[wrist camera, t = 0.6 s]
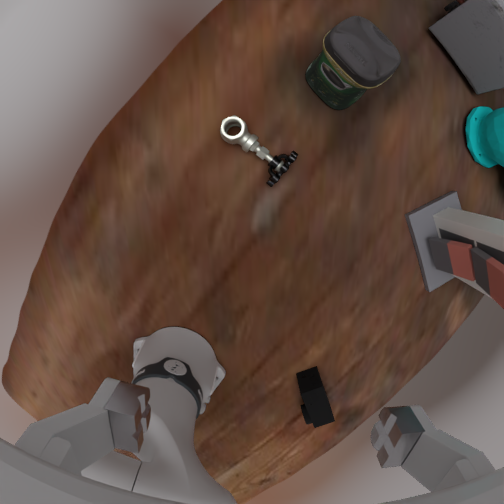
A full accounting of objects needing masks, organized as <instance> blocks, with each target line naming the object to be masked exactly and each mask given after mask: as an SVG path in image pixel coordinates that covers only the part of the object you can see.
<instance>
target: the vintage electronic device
mask: <svg viewBox="0 0 504 504" xmlns="http://www.w3.org/2000/svg"><path fill="white" fill-rule="evenodd" d="M460 3H461V4H460ZM458 4H460V5H458ZM456 5H458V6H456ZM444 9H445V10H446V11H449V10H450V9H451V10H450V11H449V12H448V14H447V15H446V16H444V17H443V18H442V19H440V20H439V21H437V22H436V23H435V24H433V25H432V26H430V27H429V29H430V31H431V32H432V33H433V34H434V35H435V37H436V38H437V39H438V40H439V42H440V43H441V44H442V45H443V47H444V48H445V49H446V51H447V52H448V53H449V55H450V56H451V57H452V59H453V60H454V61H455V63H456V64H457V66H458V67H459V68H460V70H461V71H462V73H463V74H464V76H465V77H466V79H467V80H468V81H469V83H470V85H471V86H472V88H473V89H474V91H475V92H476V94H481V93H485V92H489V91H493V90H497V89H501V88H504V0H467V1H466V2H464V0H456V1H454V2H452V3H450V4H449V5H447V6H446V7H445V8H444Z"/></svg>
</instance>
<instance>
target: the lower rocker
mask: <svg viewBox="0 0 504 504" xmlns="http://www.w3.org/2000/svg"><path fill="white" fill-rule="evenodd" d="M429 243H430V247H431V251H432V255H433V259H434V263H435V267H436V269H438V270H441V271H444V272H447V273H450V274H453V275H456V276H459V277H461V278H464V279H467V280H470V281H475V280H476V279H475V273H474V267H473V261H472V255H471V250H470V249H472V245H471V244H466V243H461V242H457V241H452V240H447V239H442V238H437V237H432V238H430V239H429Z"/></svg>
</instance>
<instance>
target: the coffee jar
mask: <svg viewBox="0 0 504 504" xmlns="http://www.w3.org/2000/svg"><path fill="white" fill-rule="evenodd" d="M400 61H401V60H400V55H399V52H398V50H397V49H396V47H395V46H394V45H393V44H392V43H391V41H390V40H389V39H388V38H387V37H386V36H385V35H384V34H383V33H382V32H381V31H380V30H379V29H378V28H377V27H376V26H375V25H374V24H373V23H372V22H370V21H369V20H367V19H365V18H363V17H360V16H353V17H350V18H348V19H346V20H344V21H342V22H341V23H339V24H338V25H337V26H335V27H334V28H333V29H332V30H330V31H329V32H328V33H327V34H326V35H325V37H324V40H323V51H322V52H321V54H320V55H319V56H318V57H317V58H316V59H315V60H314V61H313V62H312V63H311V65H310V66H309V67H308V69H307V71H306V80H307V82H308V84H309V85H310V87H311V88H312V89H313V90H314V92H315V93H316V94H317V95H318V96H319V97H320V98H321V99H322V100H323V101H324V102H325V103H326V104H327V105H329V106H330V107H332V108H334V109H337V110H342V109H345V108H347V107H349V106H351V105H352V104H353V103H355V102H356V101H357V100H358V99H359V98H360V97H361V96H362V95H363V94H364V92H365V91H366V90H367V89H371V88H375V87H377V86H379V85H381V84H382V83H384V82H385V81H386V80H387V79H389V78H390V77H391V76H392V74H393V73H394V72H395V70H396V69H397V68H398V66H399V64H400Z"/></svg>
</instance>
